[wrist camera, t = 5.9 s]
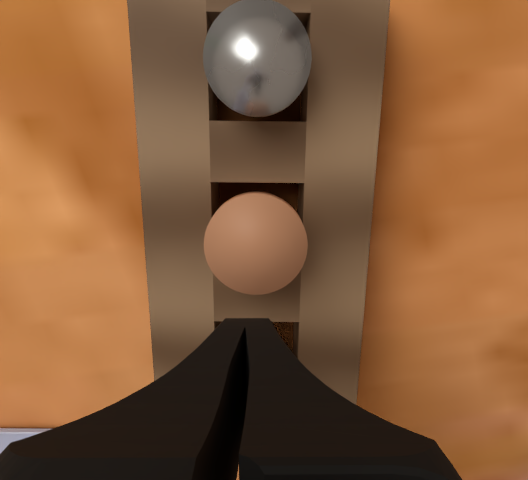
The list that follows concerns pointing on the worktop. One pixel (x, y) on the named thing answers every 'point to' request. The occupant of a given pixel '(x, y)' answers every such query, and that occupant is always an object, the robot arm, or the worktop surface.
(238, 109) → the grey plug
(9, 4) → the worktop surface
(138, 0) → the walnut block
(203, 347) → the robot arm
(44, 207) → the worktop surface
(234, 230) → the terracotta plug
